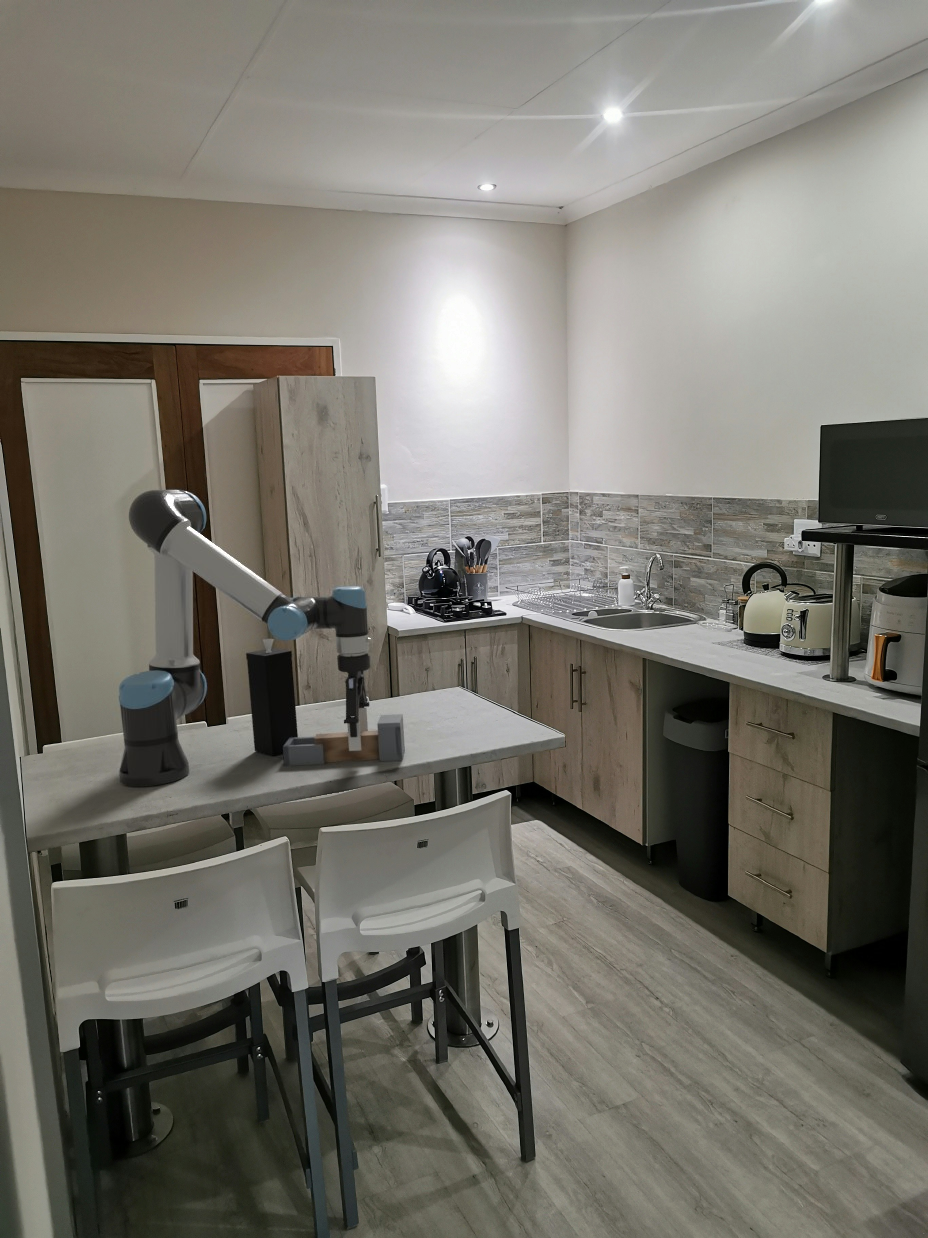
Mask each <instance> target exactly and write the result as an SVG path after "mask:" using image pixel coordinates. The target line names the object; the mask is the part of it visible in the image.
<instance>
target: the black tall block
mask: <svg viewBox="0 0 928 1238" xmlns="http://www.w3.org/2000/svg"><path fill="white" fill-rule="evenodd" d="M274 641H275V638H263V639H262V642H263V646H264V648H265V649H261V650H256V651H250V652H246V653H245V658H246V664H247V672H248V673H247V676H248V686H249V699H250V710H251V720H252V722H251V723H252V736H253V744H254V746H253V748H254V752H256V753H258V754H262V755H263V754H264V755H267V756H270V757H274V756H279V755H283V746H284V745H285V743H286V742H287V741H288V739H289V738H293V737H299V735H298V733H299V732H298V723H297V709H296V696H295V695H296V694H295V684H294V683H295V680H294V668H293V653H292V651H293V650H289V649H284V648H283V649H282V648H274V647H273V643H274Z"/></svg>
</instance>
